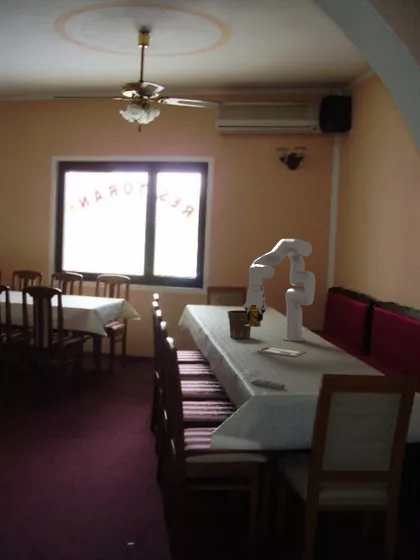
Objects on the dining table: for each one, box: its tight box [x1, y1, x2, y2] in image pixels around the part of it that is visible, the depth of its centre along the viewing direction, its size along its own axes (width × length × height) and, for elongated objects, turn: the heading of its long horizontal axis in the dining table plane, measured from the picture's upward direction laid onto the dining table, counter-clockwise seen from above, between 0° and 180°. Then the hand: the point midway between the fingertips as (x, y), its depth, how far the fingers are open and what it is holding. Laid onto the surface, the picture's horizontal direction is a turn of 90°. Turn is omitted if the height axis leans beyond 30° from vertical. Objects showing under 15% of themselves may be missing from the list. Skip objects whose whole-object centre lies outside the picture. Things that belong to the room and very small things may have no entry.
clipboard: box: [257, 346, 307, 358], centre depth 311 cm, size 15×22×1 cm
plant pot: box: [226, 309, 252, 340], centre depth 354 cm, size 16×16×16 cm
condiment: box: [244, 305, 263, 328], centre depth 317 cm, size 7×8×12 cm
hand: (255, 320), depth 317 cm, fingers closed on condiment, 6 cm apart
